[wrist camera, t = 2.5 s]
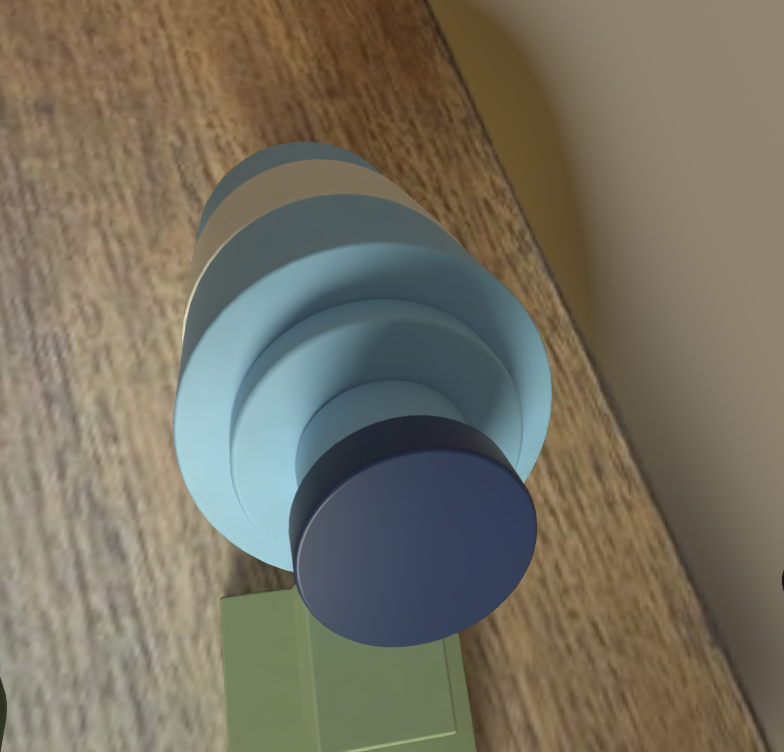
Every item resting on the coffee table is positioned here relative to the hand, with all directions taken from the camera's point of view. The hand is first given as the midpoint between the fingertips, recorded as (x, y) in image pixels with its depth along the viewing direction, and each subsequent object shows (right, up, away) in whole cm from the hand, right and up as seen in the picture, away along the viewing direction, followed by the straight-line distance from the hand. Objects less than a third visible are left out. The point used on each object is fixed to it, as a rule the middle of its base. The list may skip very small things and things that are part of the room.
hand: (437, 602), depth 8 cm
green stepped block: (-2, -6, +10) cm, 12 cm away
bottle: (-3, +1, +13) cm, 13 cm away
